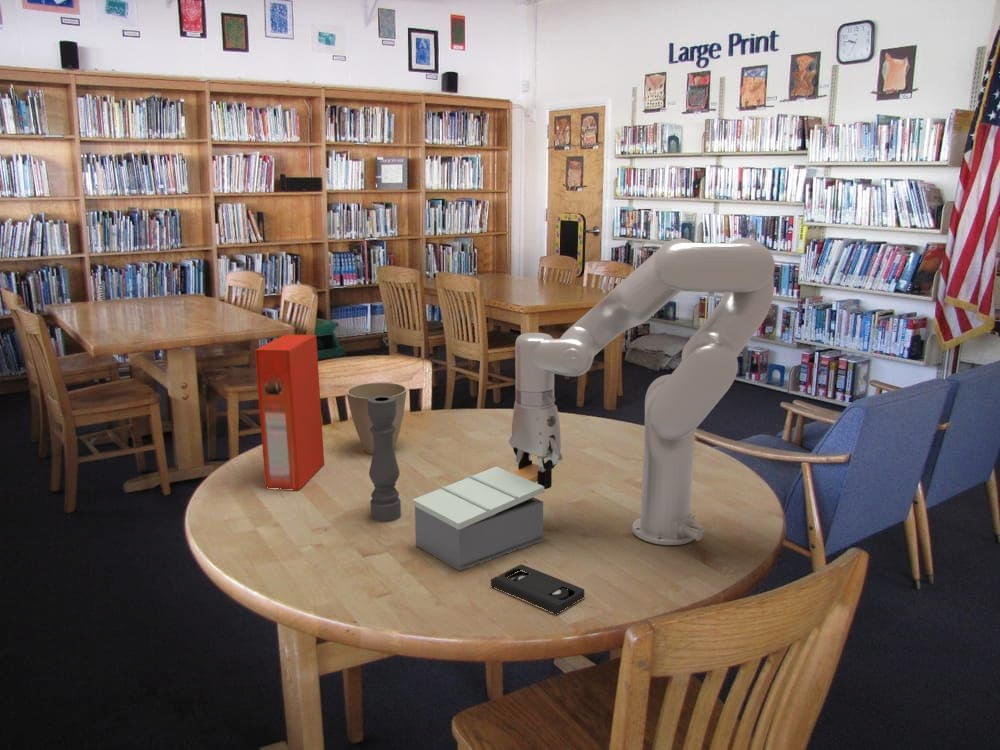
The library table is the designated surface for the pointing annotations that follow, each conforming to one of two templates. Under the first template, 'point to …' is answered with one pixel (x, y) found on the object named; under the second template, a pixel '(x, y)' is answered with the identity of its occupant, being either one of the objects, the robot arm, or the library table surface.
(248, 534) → the library table surface
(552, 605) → the vhs tape
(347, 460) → the library table surface
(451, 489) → the lid
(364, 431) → the plant pot
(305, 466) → the file binder
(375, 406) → the candle holder
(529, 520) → the tub
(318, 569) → the library table surface
